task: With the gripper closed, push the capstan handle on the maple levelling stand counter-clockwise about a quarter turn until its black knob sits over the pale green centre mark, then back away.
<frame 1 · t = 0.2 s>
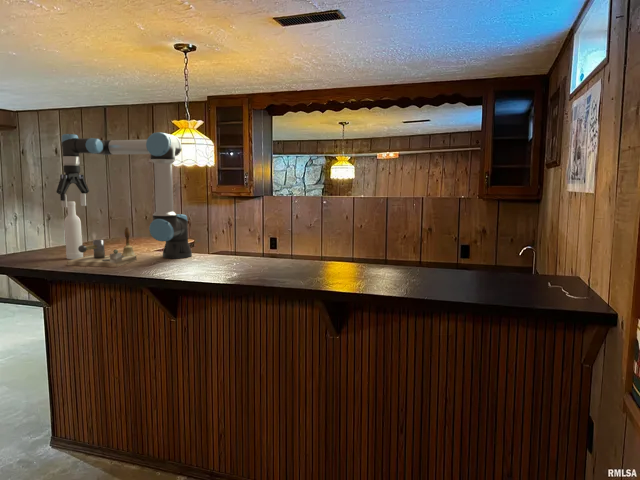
hand: (74, 206, 235), 27 cm above the countertop, tool pointing down, fingers open, 13 cm apart
capstan: (91, 250, 224), point 7 cm above the countertop, hinge at 80.0°
stand: (102, 262, 228), on the countertop
hand bell: (128, 256, 246), on the countertop
bottle: (75, 258, 240), on the countertop
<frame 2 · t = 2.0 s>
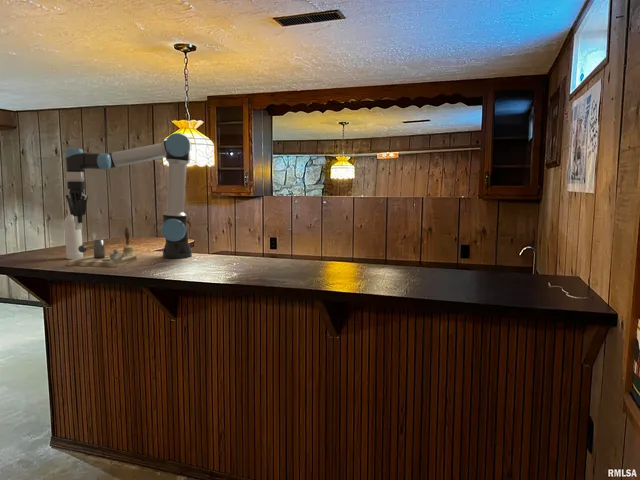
hand: (78, 229, 222), 17 cm above the countertop, tool pointing down, fingers closed
nothing on the countertop moved.
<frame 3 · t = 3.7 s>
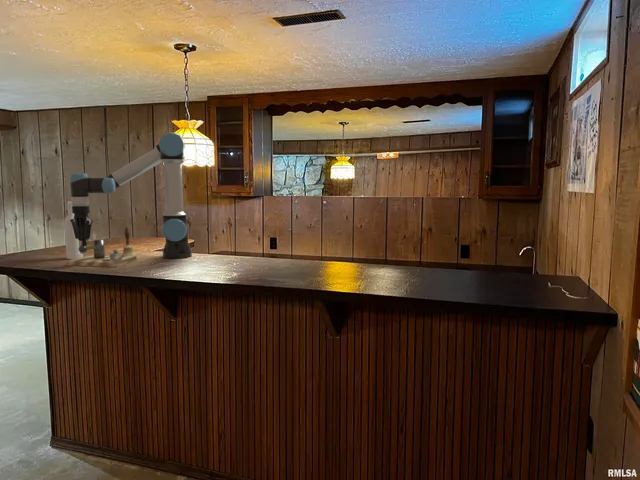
hand: (83, 253, 223), 5 cm above the countertop, tool pointing down, fingers closed
capstan: (91, 250, 224), point 7 cm above the countertop, hinge at 80.9°, touching gripper
everything else where it was.
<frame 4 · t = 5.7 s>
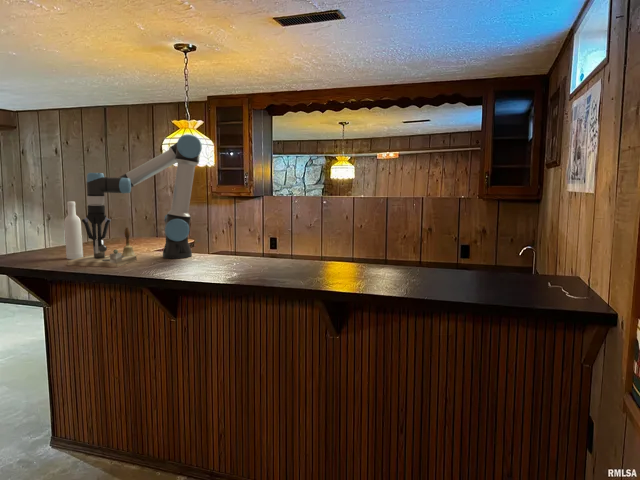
hand: (97, 252, 222), 6 cm above the countertop, tool pointing down, fingers closed
capstan: (100, 250, 225), point 7 cm above the countertop, hinge at 132.1°, touching gripper
everything else where it was.
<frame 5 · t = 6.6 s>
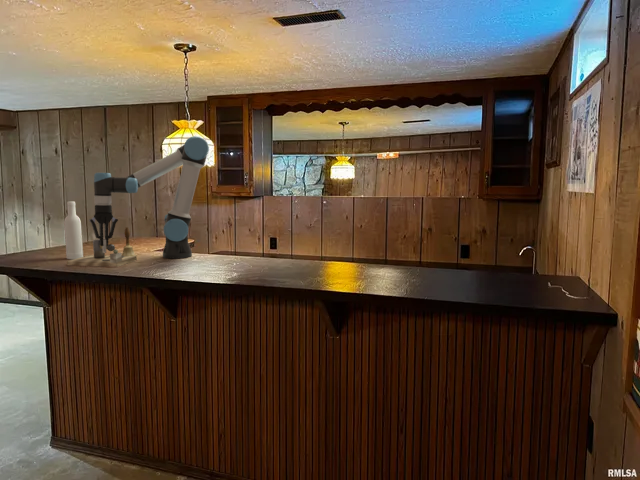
hand: (104, 252, 223), 6 cm above the countertop, tool pointing down, fingers closed
capstan: (104, 249, 226), point 7 cm above the countertop, hinge at 153.5°, touching gripper
everything else where it was.
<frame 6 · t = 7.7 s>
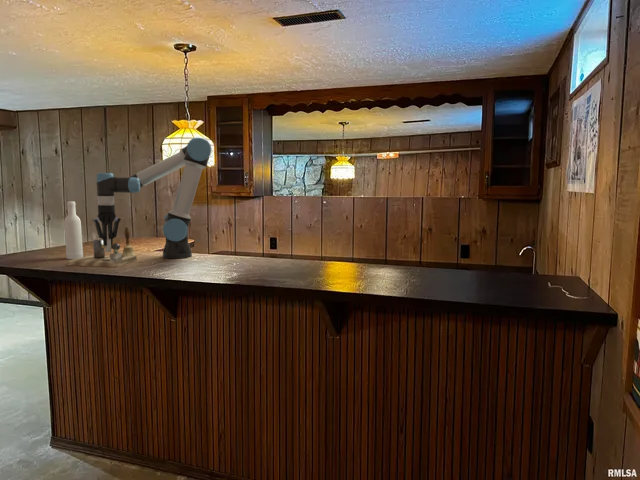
hand: (108, 252, 225), 6 cm above the countertop, tool pointing down, fingers closed
capstan: (106, 249, 228), point 7 cm above the countertop, hinge at 170.3°, touching gripper
everything else where it was.
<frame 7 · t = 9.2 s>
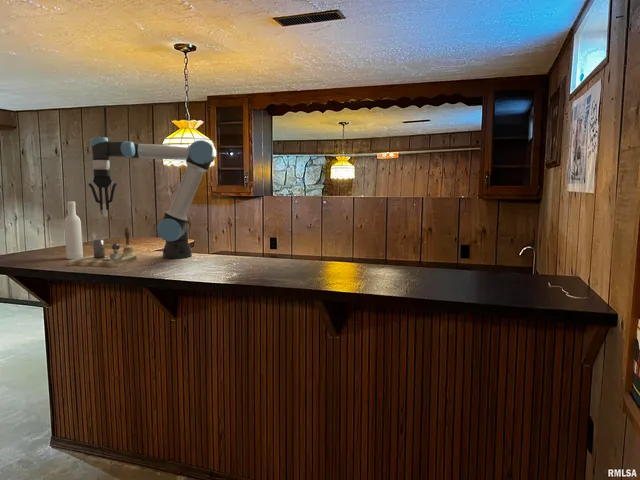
hand: (105, 216, 227), 23 cm above the countertop, tool pointing down, fingers closed
capstan: (106, 249, 228), point 7 cm above the countertop, hinge at 169.4°
everything else where it was.
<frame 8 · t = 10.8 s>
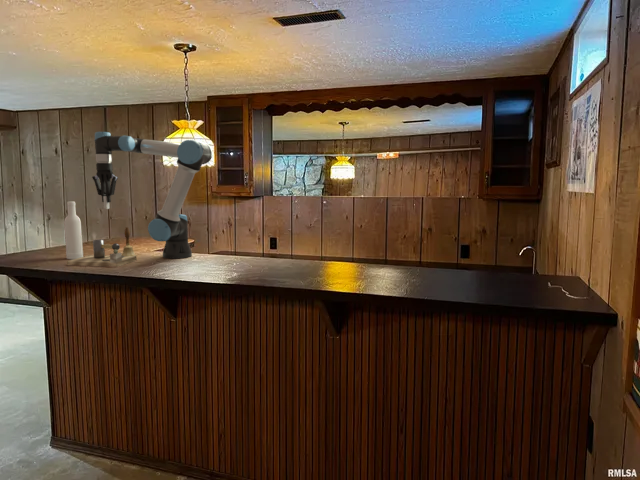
hand: (106, 208, 235), 26 cm above the countertop, tool pointing down, fingers closed
nothing on the countertop moved.
at the end: capstan at +169° (first picture: +80°) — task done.
